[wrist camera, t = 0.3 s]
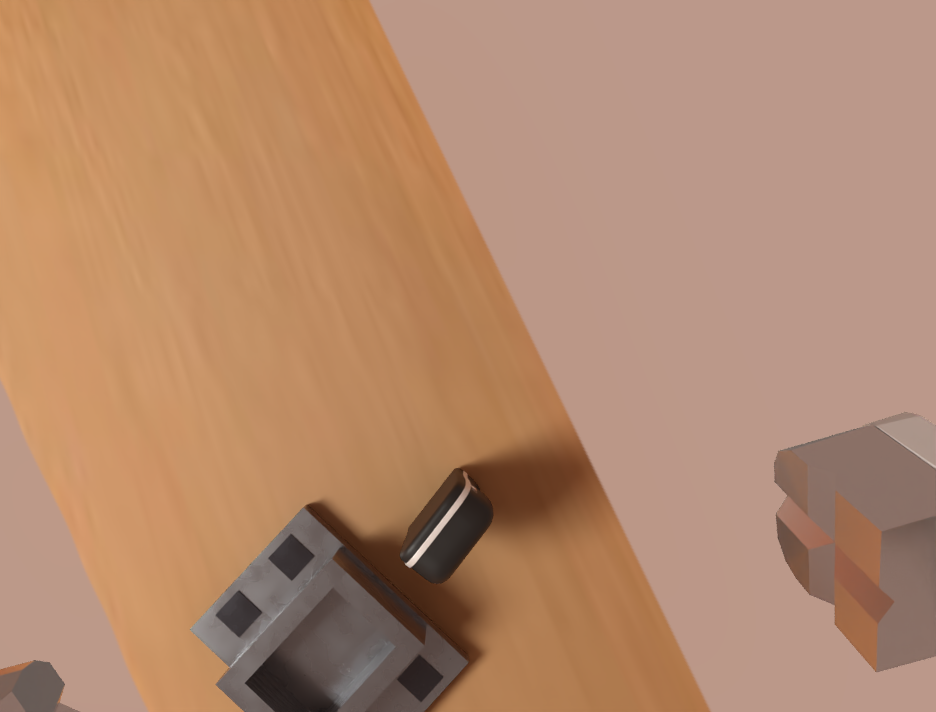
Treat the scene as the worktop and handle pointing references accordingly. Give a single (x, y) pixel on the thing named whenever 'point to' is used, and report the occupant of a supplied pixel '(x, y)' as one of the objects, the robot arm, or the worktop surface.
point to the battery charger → (447, 528)
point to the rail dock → (324, 632)
